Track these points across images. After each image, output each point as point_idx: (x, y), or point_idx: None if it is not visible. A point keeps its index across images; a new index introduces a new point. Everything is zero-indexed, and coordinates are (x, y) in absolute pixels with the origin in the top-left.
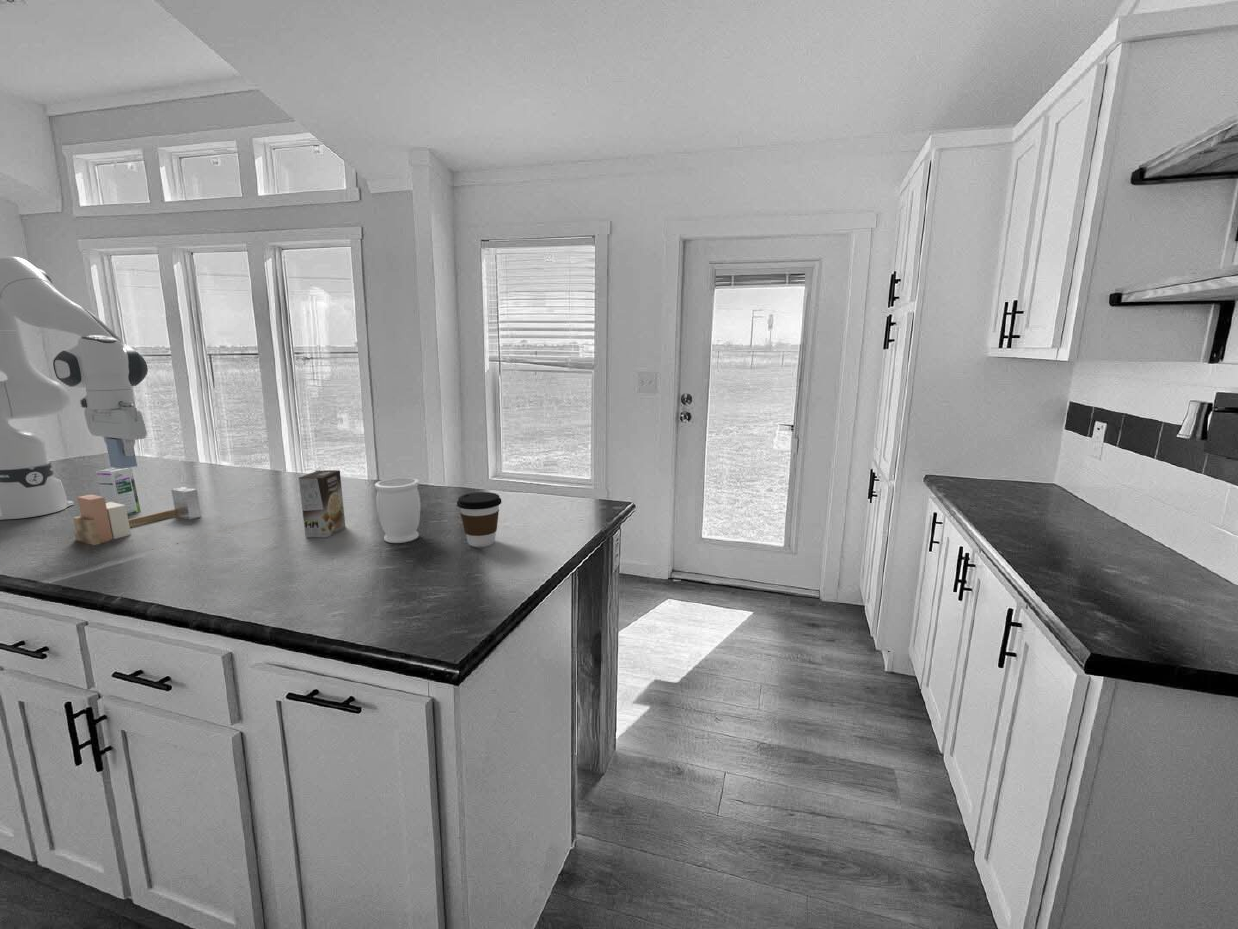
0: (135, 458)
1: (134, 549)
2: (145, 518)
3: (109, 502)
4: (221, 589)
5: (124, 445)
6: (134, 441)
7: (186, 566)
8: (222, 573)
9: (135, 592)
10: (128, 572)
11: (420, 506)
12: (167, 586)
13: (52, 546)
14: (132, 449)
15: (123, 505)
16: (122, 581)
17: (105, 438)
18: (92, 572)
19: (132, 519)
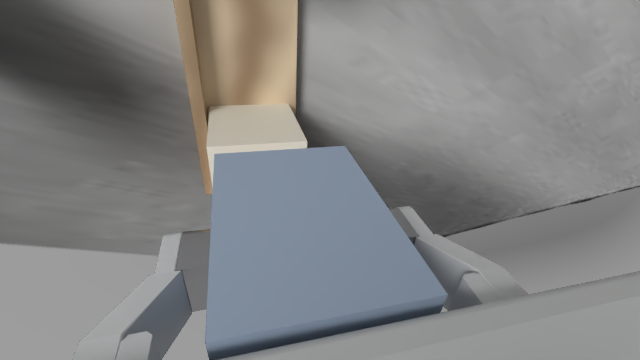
0: (360, 172)
1: (374, 132)
2: (192, 20)
3: (213, 153)
4: (633, 148)
5: (447, 300)
6: (506, 275)
7: (540, 129)
8: (611, 118)
9: (534, 202)
10: (470, 183)
11: None
12: (560, 176)
13: (182, 208)
14: (428, 235)
15: (306, 146)
16: (490, 198)
17: None
18: (417, 208)
19: (198, 64)
